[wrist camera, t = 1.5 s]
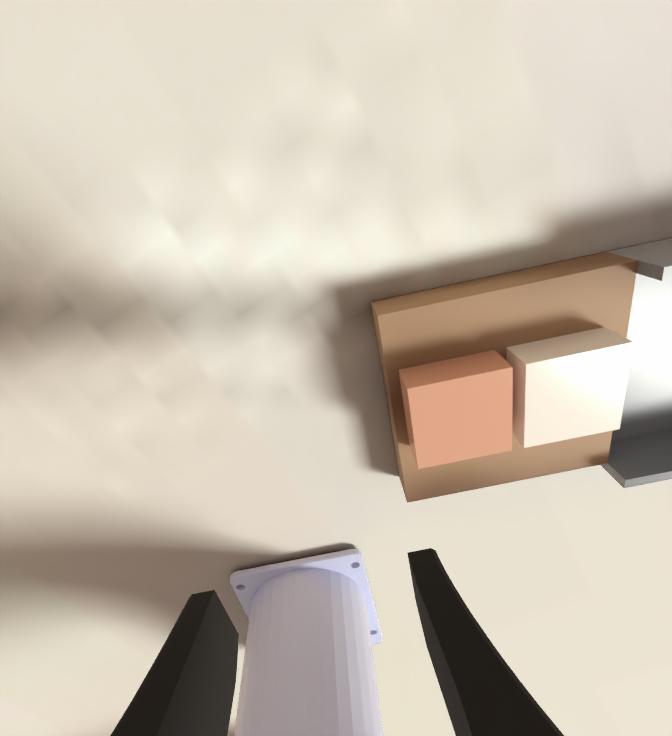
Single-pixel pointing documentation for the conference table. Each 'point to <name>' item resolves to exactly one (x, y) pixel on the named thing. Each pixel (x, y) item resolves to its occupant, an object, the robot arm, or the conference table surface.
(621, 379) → the cream tile
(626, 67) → the conference table surface
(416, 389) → the terracotta tile
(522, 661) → the conference table surface
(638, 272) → the slate tray
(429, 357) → the walnut board
